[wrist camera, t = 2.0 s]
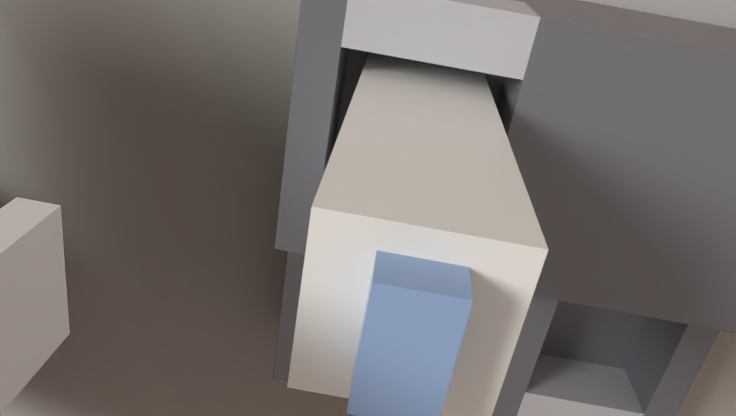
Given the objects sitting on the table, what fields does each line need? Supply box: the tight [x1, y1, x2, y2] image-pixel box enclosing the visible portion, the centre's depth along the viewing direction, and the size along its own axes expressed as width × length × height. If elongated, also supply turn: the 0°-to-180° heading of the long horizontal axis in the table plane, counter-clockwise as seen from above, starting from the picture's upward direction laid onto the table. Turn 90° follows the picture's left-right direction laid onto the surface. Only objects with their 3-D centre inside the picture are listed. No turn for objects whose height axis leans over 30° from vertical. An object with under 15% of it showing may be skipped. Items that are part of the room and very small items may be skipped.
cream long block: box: [287, 53, 548, 416], centre depth 16 cm, size 4×4×13 cm
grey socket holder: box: [273, 0, 736, 416], centre depth 24 cm, size 18×18×7 cm
